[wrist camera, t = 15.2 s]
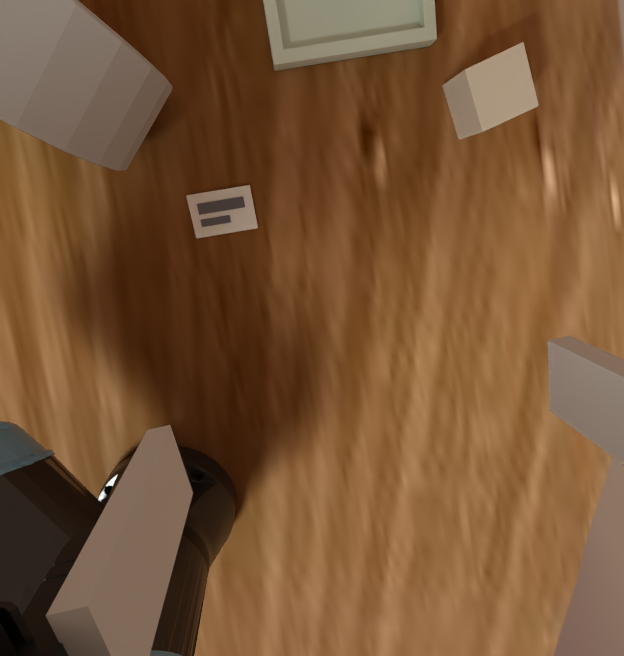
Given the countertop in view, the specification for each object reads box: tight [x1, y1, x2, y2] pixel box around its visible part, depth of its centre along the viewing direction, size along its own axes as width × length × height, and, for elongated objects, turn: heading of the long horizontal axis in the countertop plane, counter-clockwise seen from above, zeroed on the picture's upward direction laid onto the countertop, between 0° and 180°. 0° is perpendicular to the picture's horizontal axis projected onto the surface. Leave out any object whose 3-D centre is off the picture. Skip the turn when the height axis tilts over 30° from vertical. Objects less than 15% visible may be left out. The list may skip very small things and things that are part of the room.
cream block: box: [442, 42, 539, 140], centre depth 37 cm, size 5×5×5 cm
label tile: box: [186, 185, 258, 238], centre depth 40 cm, size 6×4×1 cm, turn 99°
